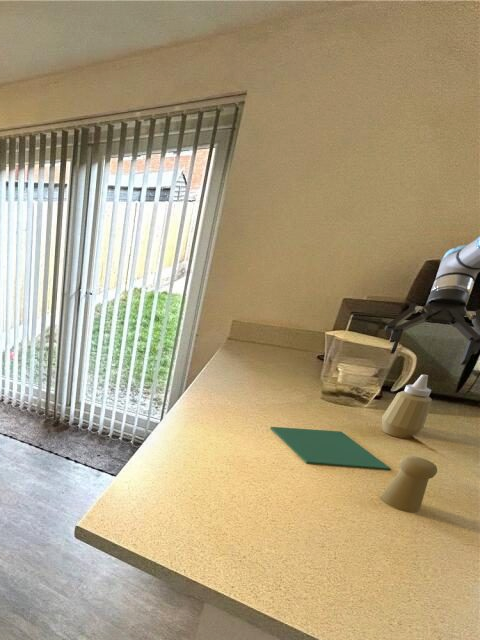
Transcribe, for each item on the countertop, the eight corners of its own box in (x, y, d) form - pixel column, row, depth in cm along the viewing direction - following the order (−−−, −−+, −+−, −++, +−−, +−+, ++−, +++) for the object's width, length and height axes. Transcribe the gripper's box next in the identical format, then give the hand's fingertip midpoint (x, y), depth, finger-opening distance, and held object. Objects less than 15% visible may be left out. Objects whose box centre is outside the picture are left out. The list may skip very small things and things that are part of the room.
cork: (372, 494, 88) (392, 453, 83) (397, 492, 88) (418, 451, 84) (401, 513, 82) (424, 470, 78) (428, 511, 82) (452, 468, 78)
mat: (390, 470, 96) (391, 468, 95) (306, 463, 99) (307, 461, 98) (340, 433, 112) (341, 431, 111) (270, 428, 115) (270, 426, 115)
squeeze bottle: (412, 431, 112) (441, 373, 105) (421, 444, 106) (453, 383, 98) (373, 424, 116) (399, 367, 109) (380, 436, 110) (407, 377, 103)
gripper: (512, 308, 108) (491, 374, 104) (385, 297, 124) (363, 353, 121) (526, 292, 102) (505, 360, 99) (391, 282, 119) (369, 340, 115)
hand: (427, 356), depth 110 cm, fingers open, 13 cm apart
